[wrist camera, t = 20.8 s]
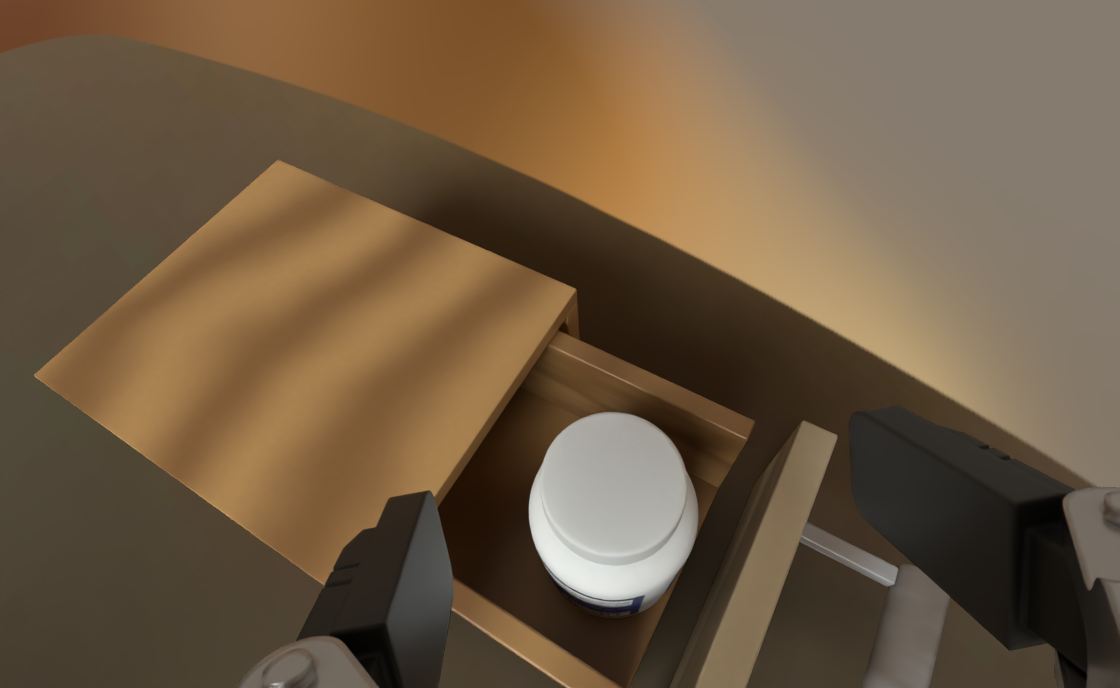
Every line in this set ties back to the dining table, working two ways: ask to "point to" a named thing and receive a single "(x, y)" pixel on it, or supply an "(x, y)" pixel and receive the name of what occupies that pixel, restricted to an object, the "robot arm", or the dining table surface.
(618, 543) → the pill bottle
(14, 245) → the dining table surface
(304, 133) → the dining table surface
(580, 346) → the drawer
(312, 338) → the cabinet
